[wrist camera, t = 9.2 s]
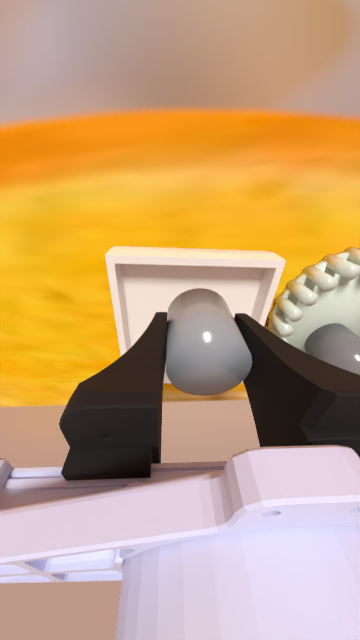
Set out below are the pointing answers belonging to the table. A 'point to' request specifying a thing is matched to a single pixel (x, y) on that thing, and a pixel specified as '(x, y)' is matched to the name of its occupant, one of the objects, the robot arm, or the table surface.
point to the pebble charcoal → (335, 346)
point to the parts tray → (186, 283)
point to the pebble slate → (204, 344)
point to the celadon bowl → (319, 299)
